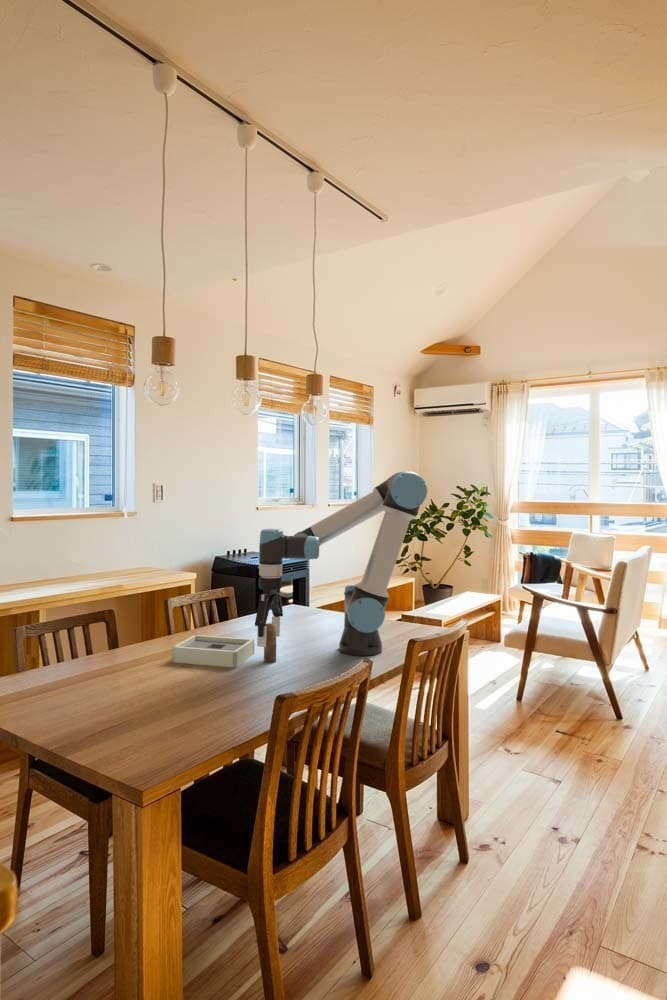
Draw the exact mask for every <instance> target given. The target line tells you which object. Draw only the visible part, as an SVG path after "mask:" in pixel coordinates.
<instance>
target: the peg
mask: <svg viewBox="0 0 667 1000" xmlns="http://www.w3.org/2000/svg"><path fill="white" fill-rule="evenodd" d="M265 626H267V628H266V647H263V662H264V663H266V664H273V663H276V662H277V636H276V624H273V623H272V622H271V623H266V625H265Z"/></svg>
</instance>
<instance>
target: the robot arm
mask: <svg viewBox="0 0 667 1000" xmlns="http://www.w3.org/2000/svg"><path fill="white" fill-rule="evenodd" d="M427 495H428V486H427V483H426V480H425V479H424V477H422V475H420V474H418V473H416V472H413V471H410V470H406V471H400V472H399V471H398V472H396V473H393V474H392V475H391V476H389V477H388V478H386V480H385V481H383V482H382V483H380V484H378V485H376V486H375V487H373V490H372V492H369V493H368V494H366V495H365V496H363V497H361V498H359V499H357V500H355V501H353V502H352V503H351V504H348V505H347V506H344V507H343V508H341V509H339V510H337V511H336V512H334V513H332V514H330V515H329V516H327V517H325V518H323V519H320V520H319V521H318V522H316V523H314V524H312V525H310V526H309V527H307V528H305V529H303V530H302V531H297V532H296V533H295V534H294V535H285V533H284V530H283V529H280V528H263V529H262V530H261V531H260V533H259V534H260V535H259V554H258V555H259V557H258V559H259V560H258V561H259V562H258V563H259V565H258V566H257V569H258V570H259V571H258V575H259V577H258V588H259V590H263V593H260V594H259V596H258V599H259V600H258V605H257V609H256V615H255V621H254V626H255V627H257V637H256V647H260V648H261V647H262V648H264V647H266V628H267V626H265V625H266V624H267V620H268V617H269V612H270V609H271V612H272V616H271V623H273V624H276V637H280V635H281V617H283V616H284V611H283V604H282V597H281V589H282V587H283V578H282V576H283V559H286V560H287V559H290V560H291V559H295V560H307V561H308V560H317V559H318V558H320V557H319V556H320V546H322V545H324V544H326V543H328V542H329V541H331V540H333V539H335V538H337V537H338V536H340V535H342V534H343V533H346V532H348V531H350V530H351V529H353V528H355V527H357V526H358V525H360V524H362V523H364V522H365V521H368V520H370V519H371V518H373V517H375V516H376V515H379V514H380V513H382V512H384V515H383V518H382V521H381V524H380V527H379V529H378V532H377V536H376V539H375V541H374V545H373V547H372V551H371V553H370V555H369V559H368V562H367V565H366V567H365V568H366V569H365V570H364V574H363V576H362V580H361V581H360V582H357V583H355V584H348V585H346V586H345V588H344V592H343V595H344V628H343V631H342V633H341V637H340V640H339V643H338V646H339V647H338V651H340V652H341V653H342V654H346V655H351V656H357V657H358V656H360V657H362V656H364V657H365V656H373V655H378V654H380V653H382V652H383V642H382V640H381V636H380V632H379V629H380V628H381V627H382V625H383V624H384V622H385V619H386V617H385V616H386V611H385V610H386V607H387V604H388V601H389V599H390V595H389V592H388V590H387V589H388V587H389V585H390V584H389V583H390V580H391V578H392V574H393V573H394V569H395V566H396V564H397V563H396V562H397V561H398V557H399V554H400V552H401V548H402V545H403V543H404V540H405V536H406V534H407V531H408V528H409V525H410V521H413V520H414V519H415V518H417V515H418V513H419V510H420V507H421V505H423V503H424V502H425V500H426V498H427Z"/></svg>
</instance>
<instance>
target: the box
mask: <svg viewBox="0 0 667 1000" xmlns="http://www.w3.org/2000/svg"><path fill="white" fill-rule="evenodd" d="M171 648H172V656H171V657H172V660H171V661H172V663H177V664H188V665H200V666H209V667H222V668H234V669H236V668H238V667H239V666H240V665H241V664H243V663H245V662H246V661H247V660H248V659H249V658H251V657H252V656H253V655H254V654H255V639H253V638H244V637H243V638H240V637H231V636H230V637H227V636H216V635H215V636H214V635H202V634H199V635H198V634H194V635H192V636H190V637H189V638H186V639H184V640H183V641H181V642H179V643H177V644H175V645H174V646H172V647H171Z"/></svg>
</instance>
